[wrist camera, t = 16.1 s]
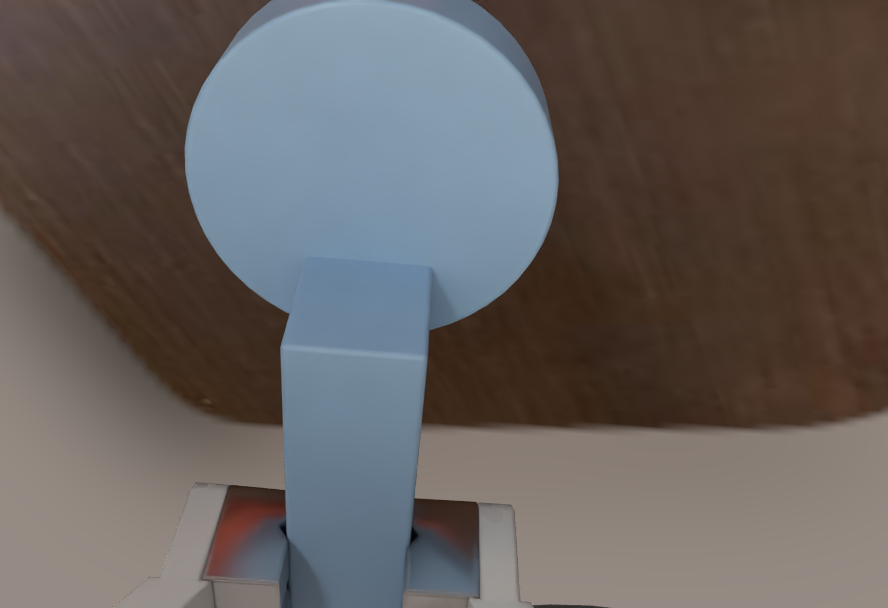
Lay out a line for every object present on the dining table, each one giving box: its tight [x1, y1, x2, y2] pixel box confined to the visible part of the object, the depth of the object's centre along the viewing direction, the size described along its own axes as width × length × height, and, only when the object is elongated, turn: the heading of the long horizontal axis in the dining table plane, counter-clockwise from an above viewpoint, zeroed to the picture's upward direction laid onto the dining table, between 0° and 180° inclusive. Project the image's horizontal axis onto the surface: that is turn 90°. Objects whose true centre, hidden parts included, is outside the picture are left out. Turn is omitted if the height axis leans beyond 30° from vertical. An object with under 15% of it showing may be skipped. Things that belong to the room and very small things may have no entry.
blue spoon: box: [185, 0, 559, 608], centre depth 12 cm, size 11×4×3 cm, turn 175°
